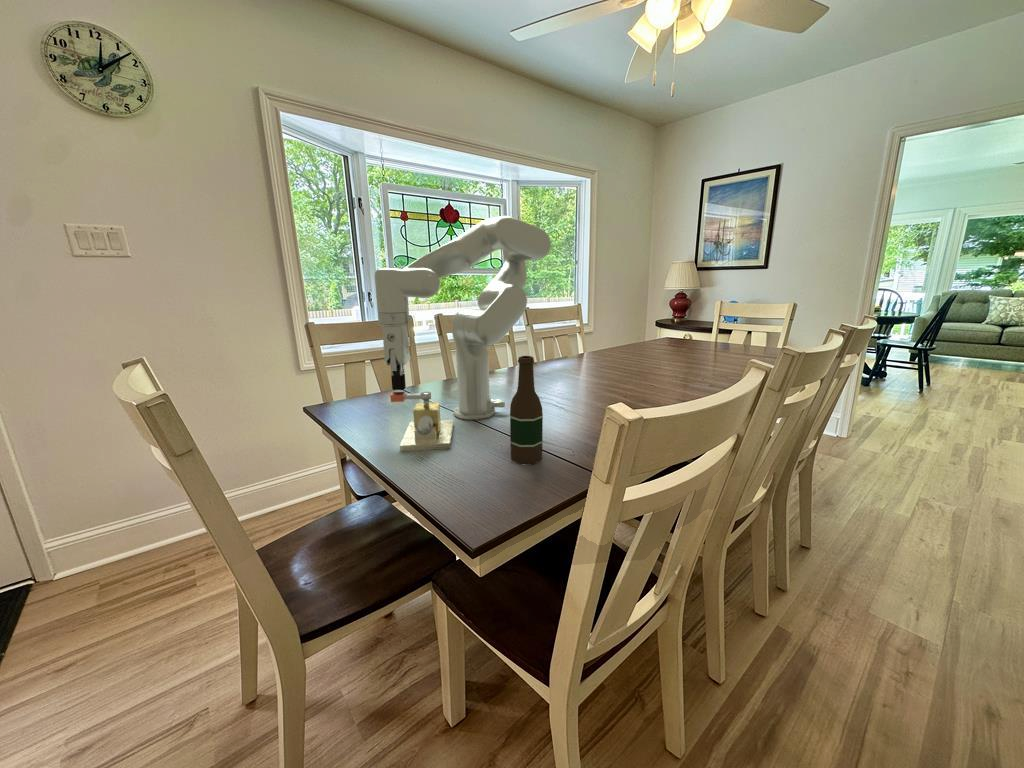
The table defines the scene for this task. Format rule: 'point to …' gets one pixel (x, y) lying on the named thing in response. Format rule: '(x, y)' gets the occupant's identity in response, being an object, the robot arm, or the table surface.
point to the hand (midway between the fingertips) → (399, 388)
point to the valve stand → (427, 429)
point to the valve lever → (409, 396)
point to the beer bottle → (526, 417)
